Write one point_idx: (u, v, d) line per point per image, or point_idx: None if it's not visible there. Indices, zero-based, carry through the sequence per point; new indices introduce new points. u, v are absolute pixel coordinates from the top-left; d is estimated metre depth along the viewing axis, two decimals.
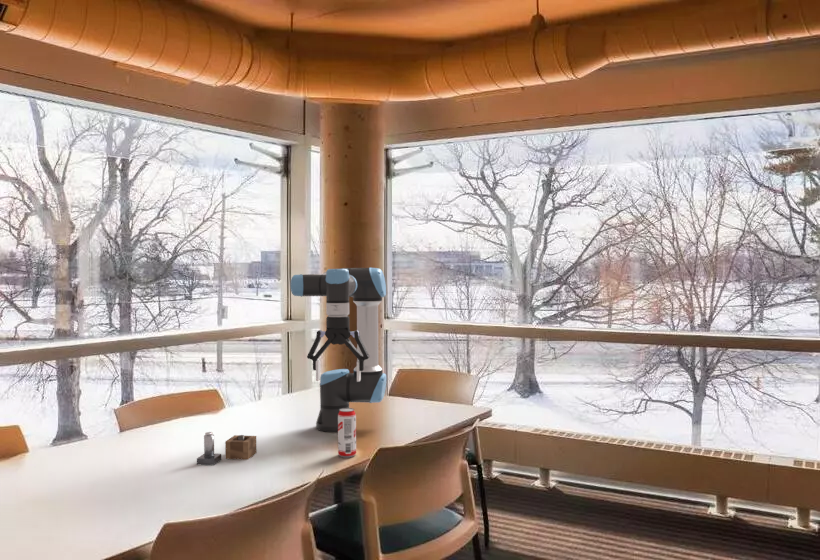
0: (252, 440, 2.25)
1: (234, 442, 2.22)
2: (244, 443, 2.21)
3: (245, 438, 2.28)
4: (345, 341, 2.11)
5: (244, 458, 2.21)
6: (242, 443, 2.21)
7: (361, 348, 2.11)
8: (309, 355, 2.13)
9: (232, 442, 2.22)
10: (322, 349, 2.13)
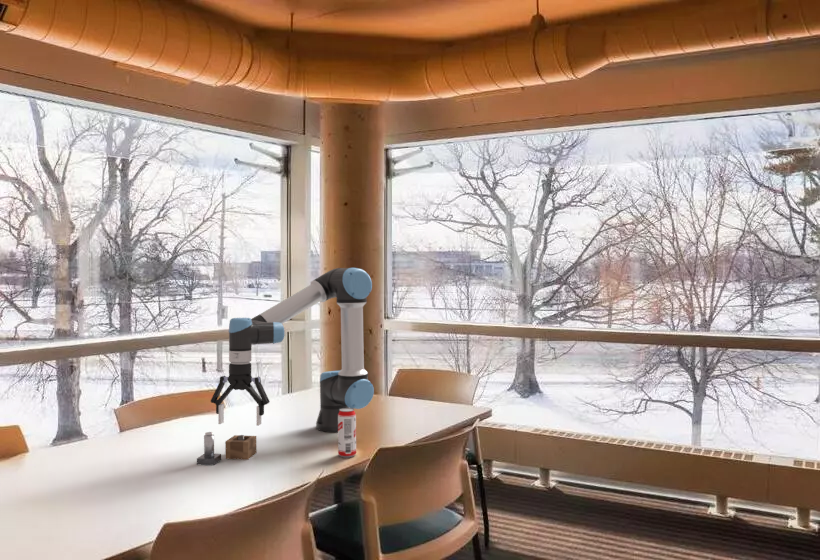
0: (252, 440, 2.25)
1: (234, 442, 2.22)
2: (244, 443, 2.21)
3: (245, 438, 2.28)
4: (246, 387, 2.23)
5: (244, 458, 2.21)
6: (242, 443, 2.21)
7: (261, 394, 2.23)
8: (212, 399, 2.25)
9: (232, 442, 2.22)
10: (224, 394, 2.25)
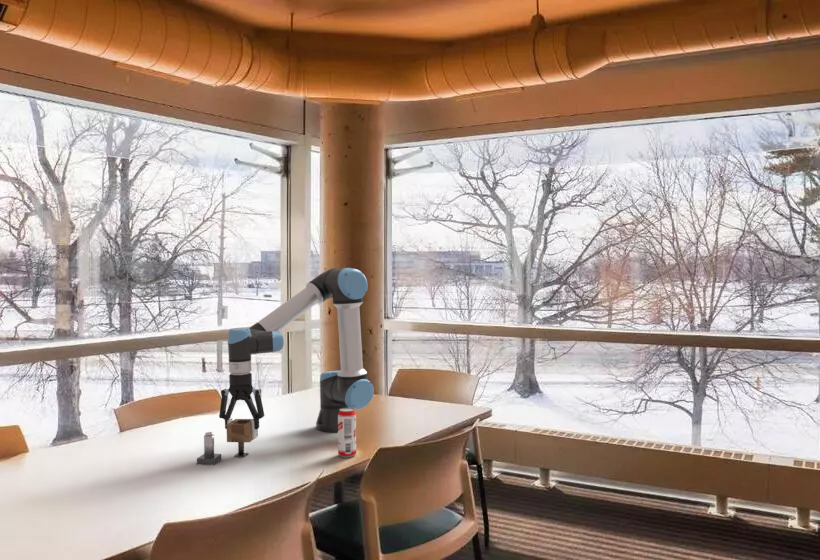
0: None
1: (235, 425, 2.22)
2: (245, 426, 2.22)
3: (246, 421, 2.28)
4: (245, 398, 2.24)
5: (245, 441, 2.22)
6: (243, 426, 2.22)
7: (258, 407, 2.24)
8: (220, 415, 2.25)
9: (233, 425, 2.22)
10: (230, 407, 2.25)
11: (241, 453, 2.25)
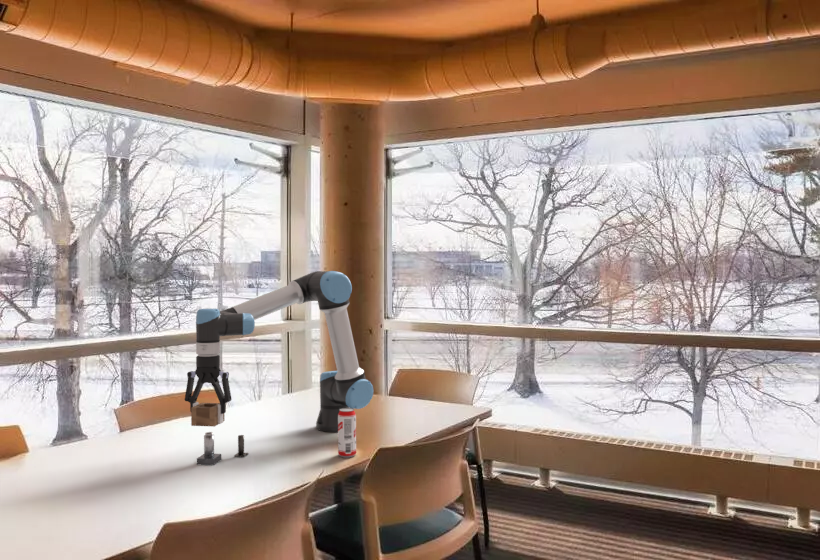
0: None
1: (200, 408, 2.15)
2: (210, 409, 2.14)
3: (213, 405, 2.21)
4: (212, 381, 2.16)
5: (210, 425, 2.14)
6: (208, 409, 2.14)
7: (225, 390, 2.16)
8: (186, 398, 2.18)
9: (198, 408, 2.15)
10: (196, 390, 2.17)
11: (241, 453, 2.25)
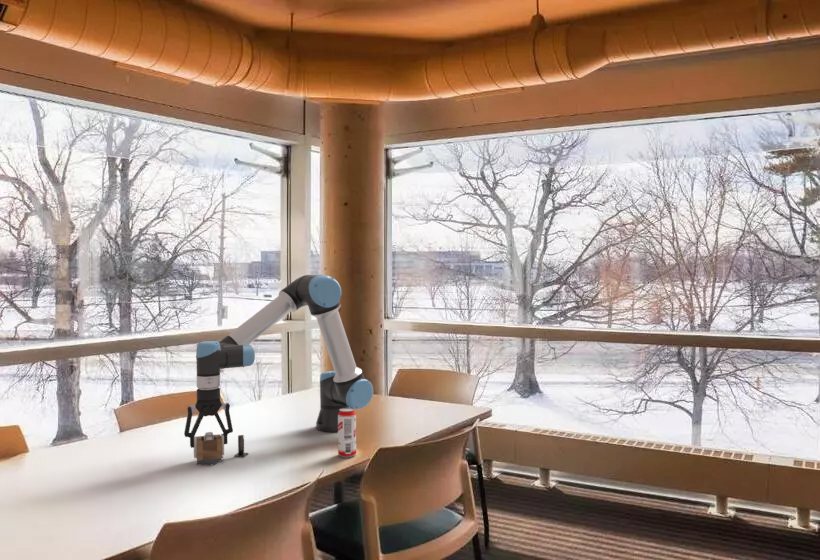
0: None
1: (207, 442, 2.15)
2: (218, 441, 2.16)
3: None
4: (216, 413, 2.18)
5: (218, 457, 2.16)
6: (216, 442, 2.16)
7: (229, 421, 2.20)
8: (186, 433, 2.15)
9: (205, 442, 2.14)
10: (197, 424, 2.16)
11: (241, 453, 2.25)
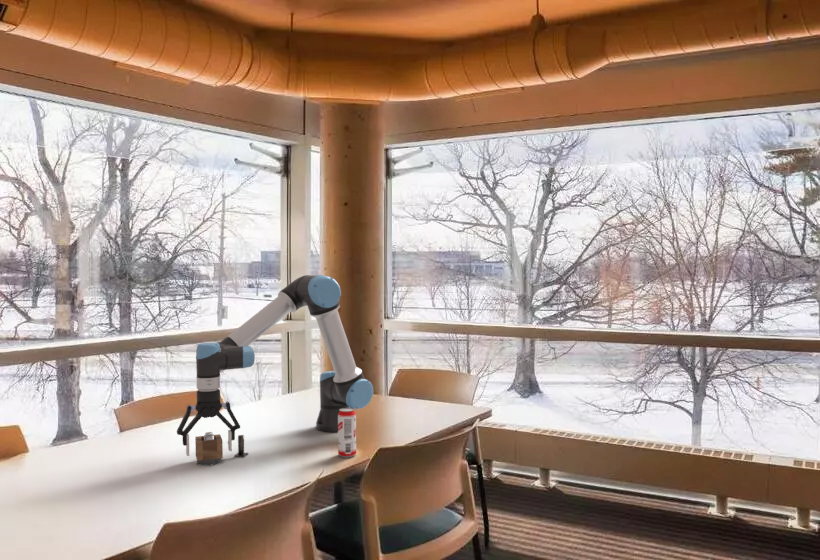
0: None
1: (207, 442, 2.15)
2: (218, 441, 2.16)
3: None
4: (218, 413, 2.18)
5: (218, 457, 2.16)
6: (216, 442, 2.16)
7: (233, 418, 2.21)
8: (179, 431, 2.14)
9: (205, 442, 2.14)
10: (193, 424, 2.15)
11: (241, 453, 2.25)
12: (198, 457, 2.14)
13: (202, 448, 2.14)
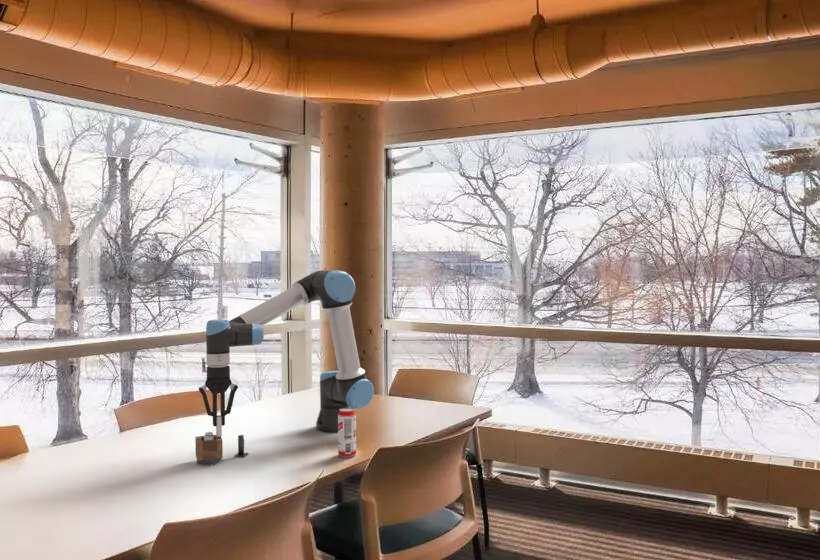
0: None
1: (207, 442, 2.15)
2: (218, 441, 2.16)
3: None
4: (223, 392, 2.19)
5: (218, 457, 2.16)
6: (216, 442, 2.16)
7: (230, 402, 2.20)
8: (209, 412, 2.17)
9: (205, 442, 2.14)
10: (215, 402, 2.18)
11: (241, 453, 2.25)
12: (198, 457, 2.14)
13: (202, 448, 2.14)
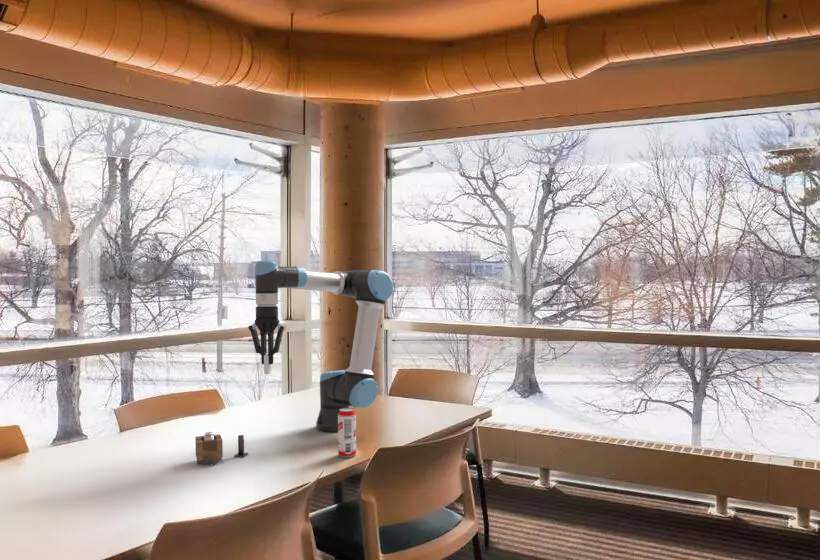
0: None
1: (207, 442, 2.15)
2: (218, 441, 2.16)
3: None
4: (269, 331, 2.24)
5: (218, 457, 2.16)
6: (216, 442, 2.16)
7: (276, 342, 2.24)
8: (257, 349, 2.25)
9: (205, 442, 2.14)
10: (262, 341, 2.25)
11: (241, 453, 2.25)
12: (198, 457, 2.14)
13: (202, 448, 2.14)
